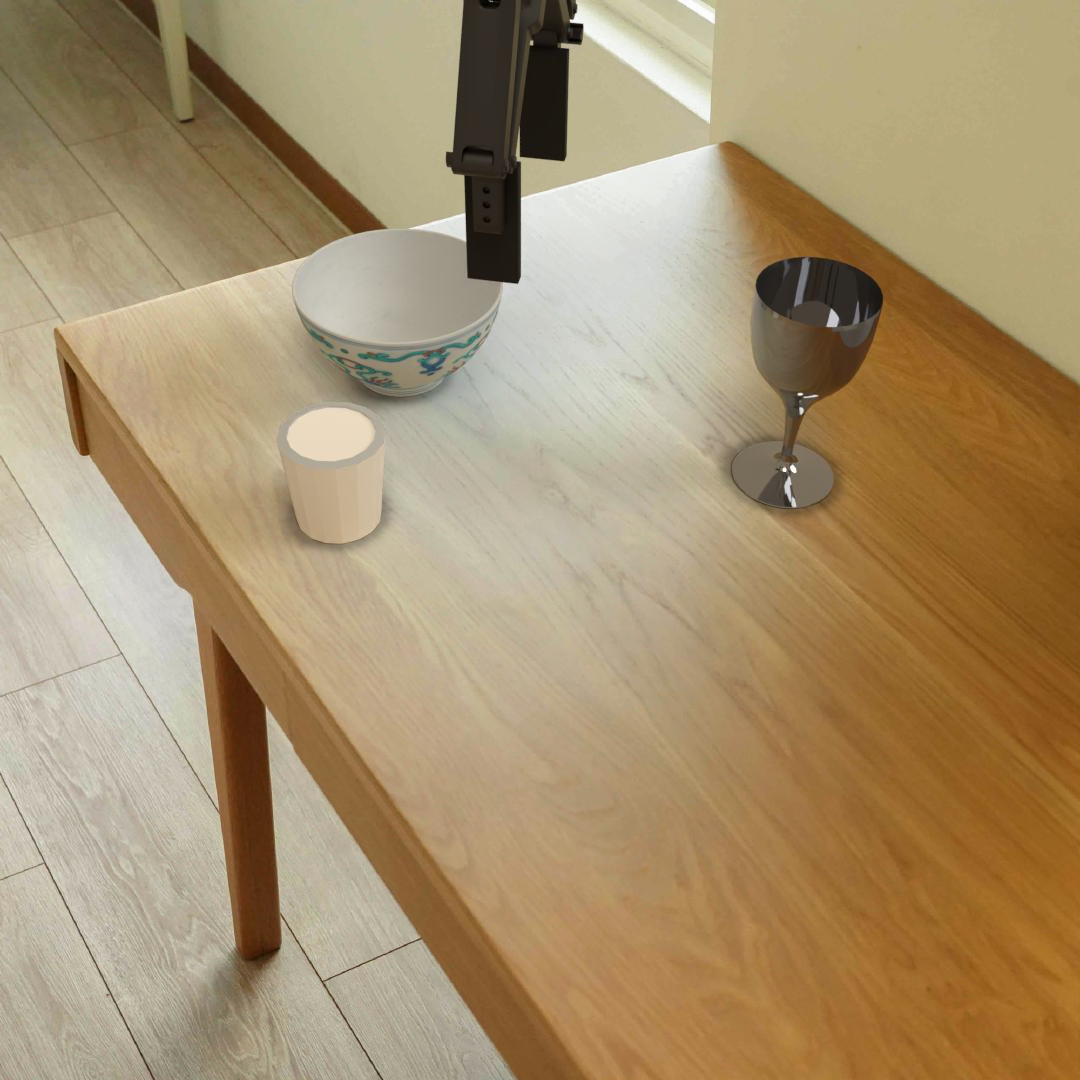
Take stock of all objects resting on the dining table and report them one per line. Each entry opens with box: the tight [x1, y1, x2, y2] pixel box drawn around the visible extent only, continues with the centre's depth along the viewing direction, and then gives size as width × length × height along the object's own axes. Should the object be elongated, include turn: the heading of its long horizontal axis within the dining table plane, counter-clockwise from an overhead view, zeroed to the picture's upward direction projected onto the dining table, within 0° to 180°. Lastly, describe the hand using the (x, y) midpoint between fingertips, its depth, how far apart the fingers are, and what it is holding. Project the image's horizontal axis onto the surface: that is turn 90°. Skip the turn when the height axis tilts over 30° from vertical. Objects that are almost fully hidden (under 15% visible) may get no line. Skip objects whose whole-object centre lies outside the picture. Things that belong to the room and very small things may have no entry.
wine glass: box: [731, 256, 884, 509], centre depth 89 cm, size 8×8×15 cm
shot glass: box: [275, 400, 387, 545], centre depth 87 cm, size 7×7×7 cm
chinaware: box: [291, 228, 504, 398], centre depth 99 cm, size 15×15×8 cm
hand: (520, 213), depth 75 cm, fingers open, 13 cm apart
